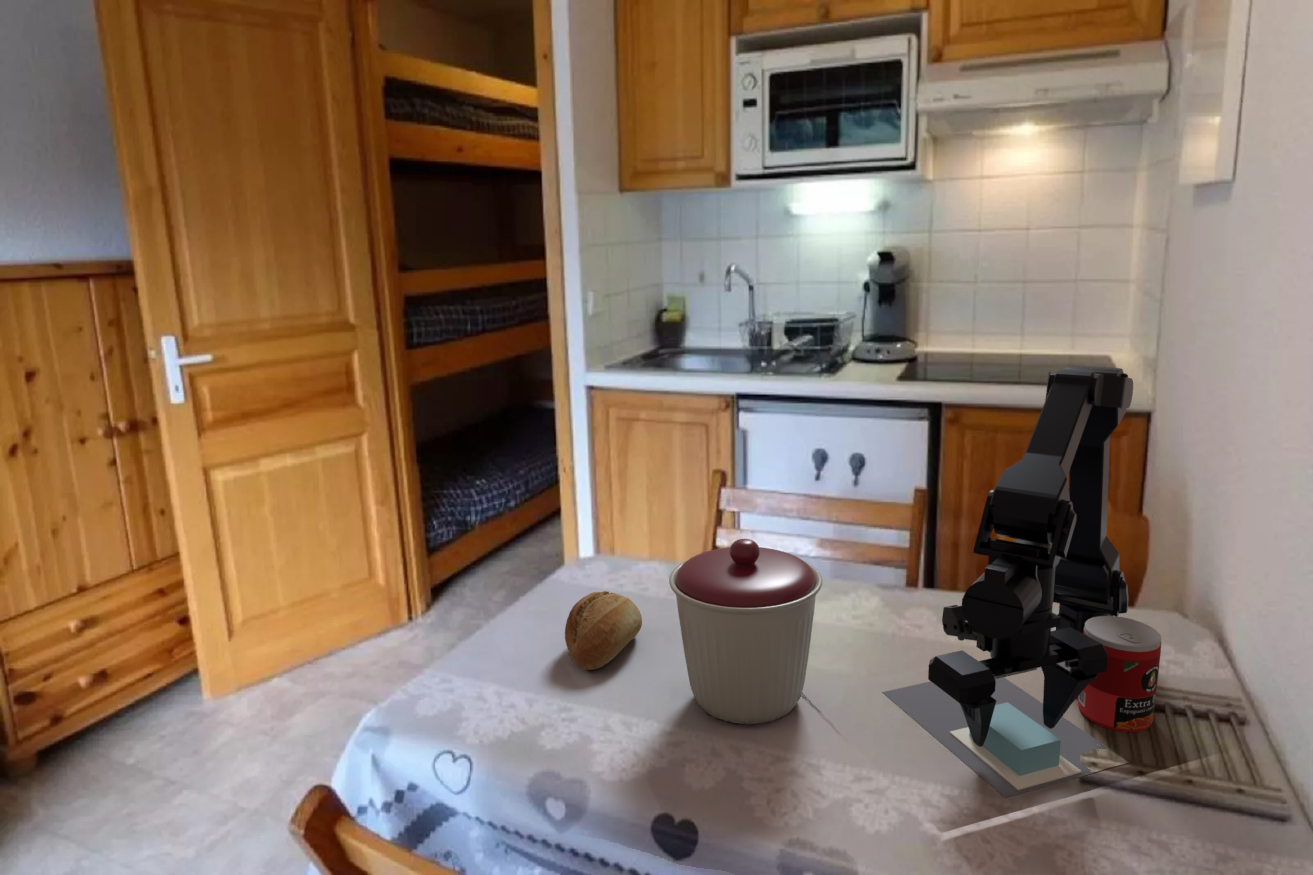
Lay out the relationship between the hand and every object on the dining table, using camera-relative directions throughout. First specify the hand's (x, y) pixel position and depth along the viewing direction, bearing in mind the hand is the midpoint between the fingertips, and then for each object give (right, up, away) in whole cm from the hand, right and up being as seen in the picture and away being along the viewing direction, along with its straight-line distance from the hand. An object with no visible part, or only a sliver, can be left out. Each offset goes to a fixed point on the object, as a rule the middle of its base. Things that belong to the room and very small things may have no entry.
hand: (1013, 735), depth 93 cm
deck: (0, -2, 0) cm, 2 cm away
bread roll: (-46, +2, +28) cm, 54 cm away
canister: (-27, -1, +13) cm, 31 cm away
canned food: (+15, -1, +7) cm, 16 cm away
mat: (0, -1, +6) cm, 6 cm away
